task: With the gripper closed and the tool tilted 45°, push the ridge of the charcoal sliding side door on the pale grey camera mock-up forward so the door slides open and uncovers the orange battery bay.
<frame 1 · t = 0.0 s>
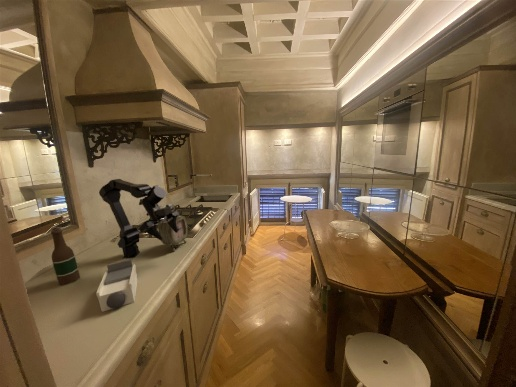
hand: (169, 236, 100), 15 cm above the countertop, tool tilted 35°, fingers open, 9 cm apart
camera body: (121, 293, 83), on the countertop
door: (118, 270, 85), point 8 cm above the countertop, slide at 0.0 cm
beer bottle: (69, 280, 95), on the countertop
tabletop clock: (175, 247, 123), on the countertop
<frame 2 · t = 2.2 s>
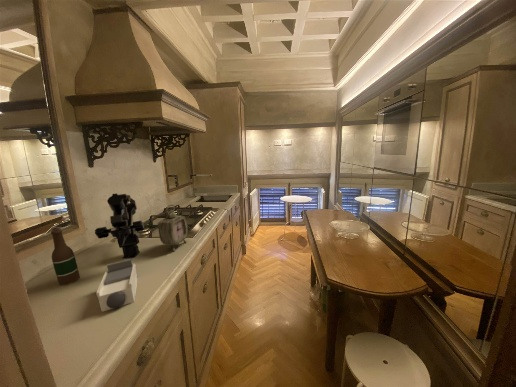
hand: (121, 245, 96), 13 cm above the countertop, tool tilted 45°, fingers closed
nothing on the countertop moved.
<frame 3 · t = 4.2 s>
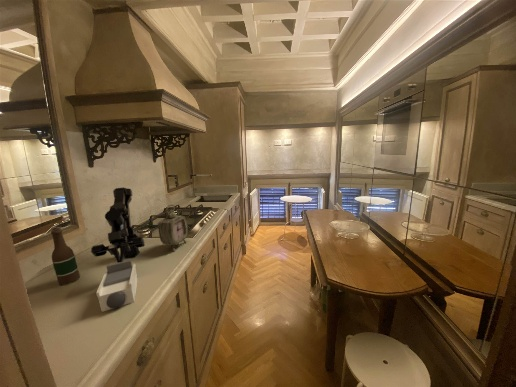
hand: (120, 265, 88), 9 cm above the countertop, tool tilted 45°, fingers closed, pressing on door
door: (118, 271, 84), point 8 cm above the countertop, slide at 1.0 cm, touching gripper
everything else where it was.
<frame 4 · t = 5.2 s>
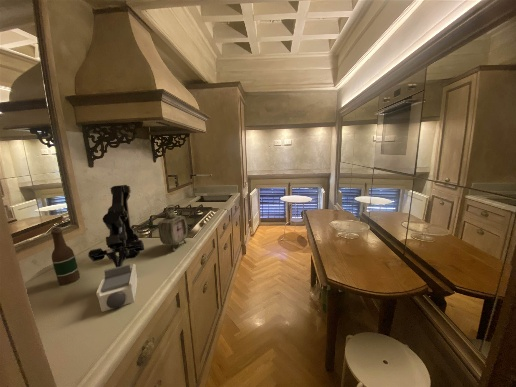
hand: (118, 270, 84), 9 cm above the countertop, tool tilted 45°, fingers closed
door: (116, 277, 80), point 8 cm above the countertop, slide at 5.0 cm
everything else where it was.
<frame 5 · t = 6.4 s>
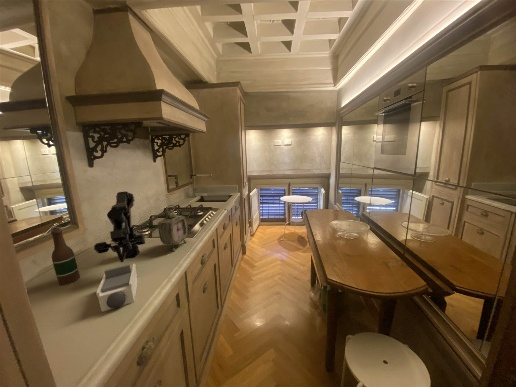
hand: (122, 261, 92), 8 cm above the countertop, tool tilted 45°, fingers closed
nothing on the countertop moved.
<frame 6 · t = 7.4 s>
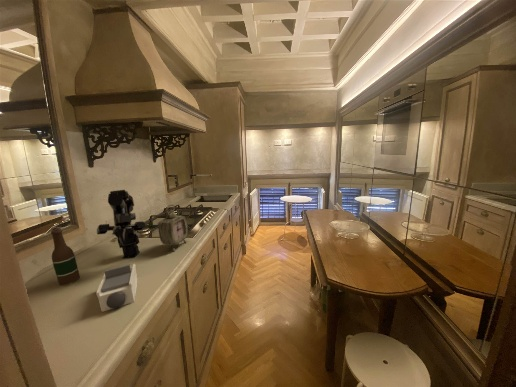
hand: (124, 245, 98), 13 cm above the countertop, tool tilted 35°, fingers closed
nothing on the countertop moved.
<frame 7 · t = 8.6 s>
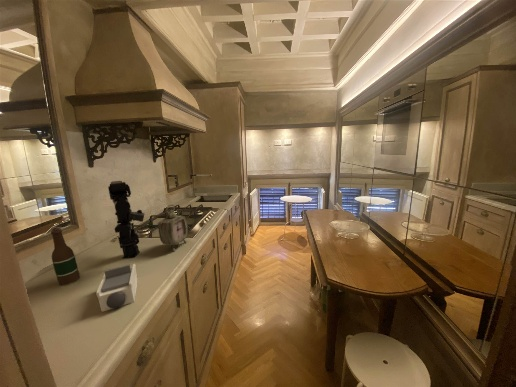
hand: (128, 239, 104), 13 cm above the countertop, tool pointing down, fingers closed
nothing on the countertop moved.
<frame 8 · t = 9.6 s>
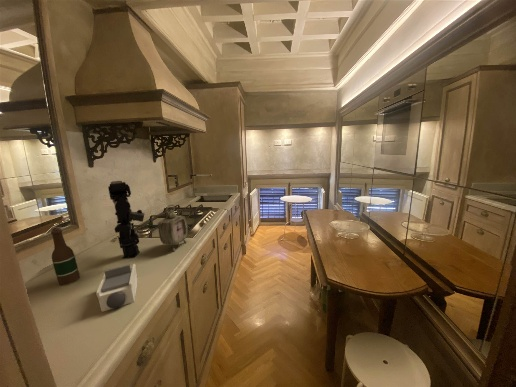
hand: (128, 239, 104), 13 cm above the countertop, tool pointing down, fingers closed
nothing on the countertop moved.
at the end: door slide at 5.0 cm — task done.
